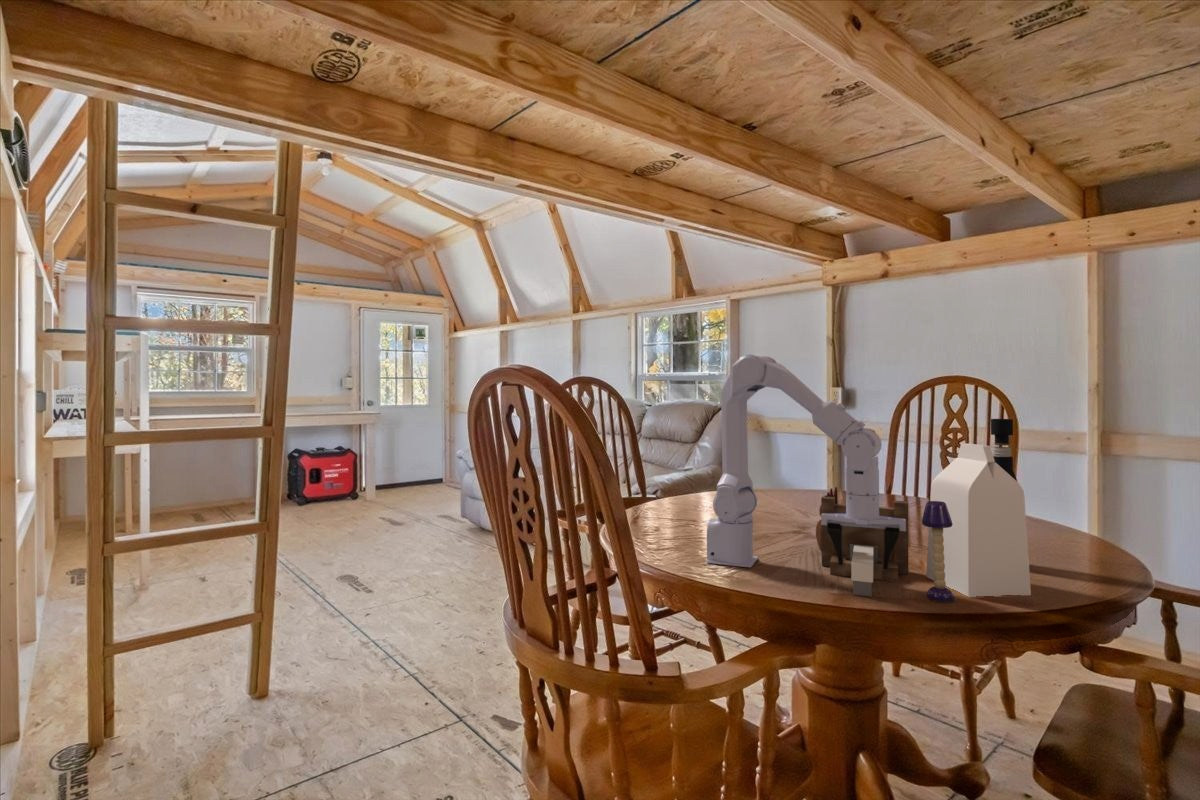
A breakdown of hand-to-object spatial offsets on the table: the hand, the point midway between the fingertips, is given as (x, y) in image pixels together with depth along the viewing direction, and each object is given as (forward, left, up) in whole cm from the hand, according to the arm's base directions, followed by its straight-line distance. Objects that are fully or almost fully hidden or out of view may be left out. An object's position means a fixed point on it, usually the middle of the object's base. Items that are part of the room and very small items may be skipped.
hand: (862, 565), depth 114 cm
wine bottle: (+26, +24, -3) cm, 36 cm away
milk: (+19, +6, -3) cm, 20 cm away
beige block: (0, -1, -3) cm, 3 cm away
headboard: (0, +7, -3) cm, 8 cm away
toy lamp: (+12, -4, -3) cm, 13 cm away
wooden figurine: (-7, +20, -3) cm, 22 cm away
